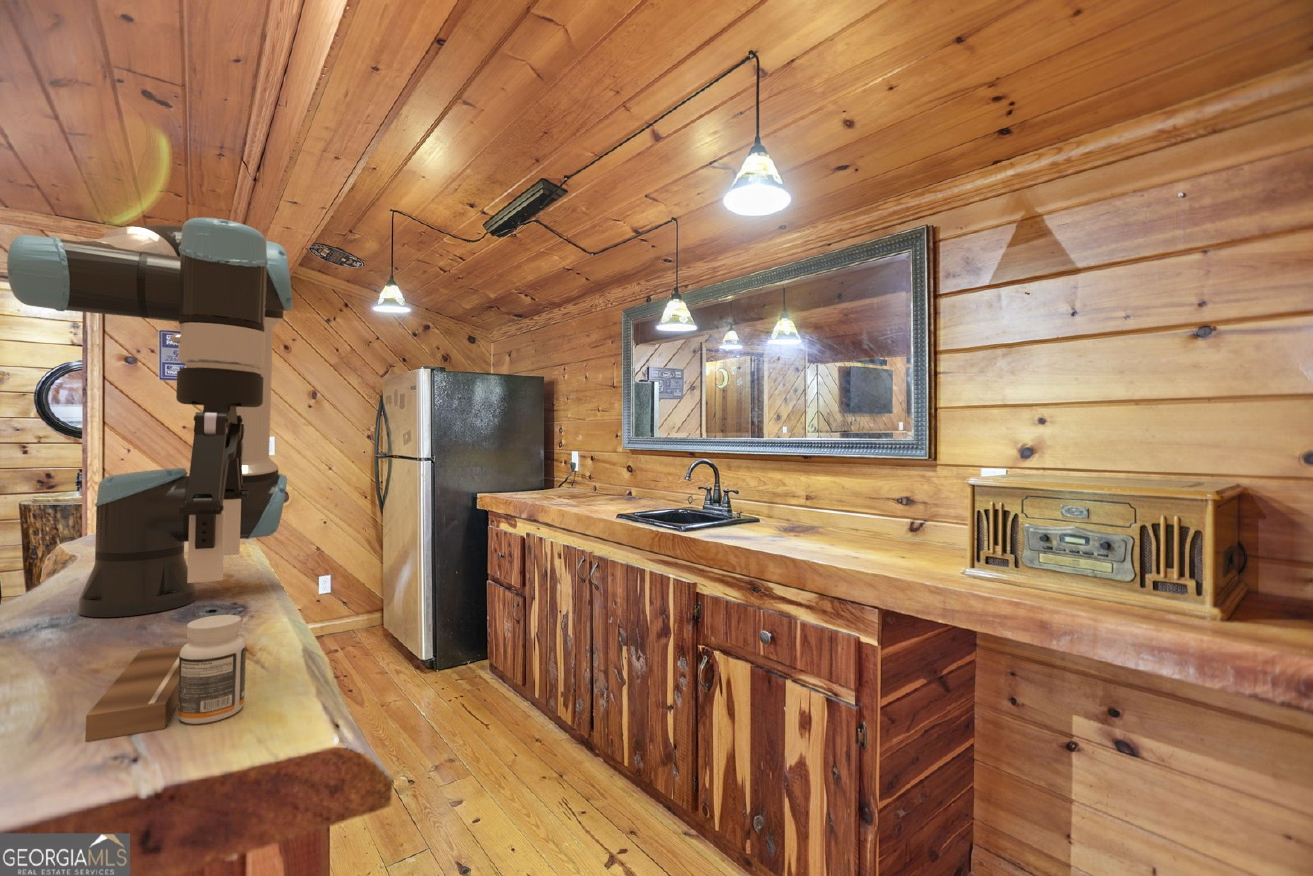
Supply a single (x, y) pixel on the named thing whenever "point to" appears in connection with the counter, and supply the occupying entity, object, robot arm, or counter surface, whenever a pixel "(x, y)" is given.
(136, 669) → the plank
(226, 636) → the pill bottle
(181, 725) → the counter surface
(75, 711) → the counter surface
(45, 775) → the counter surface
